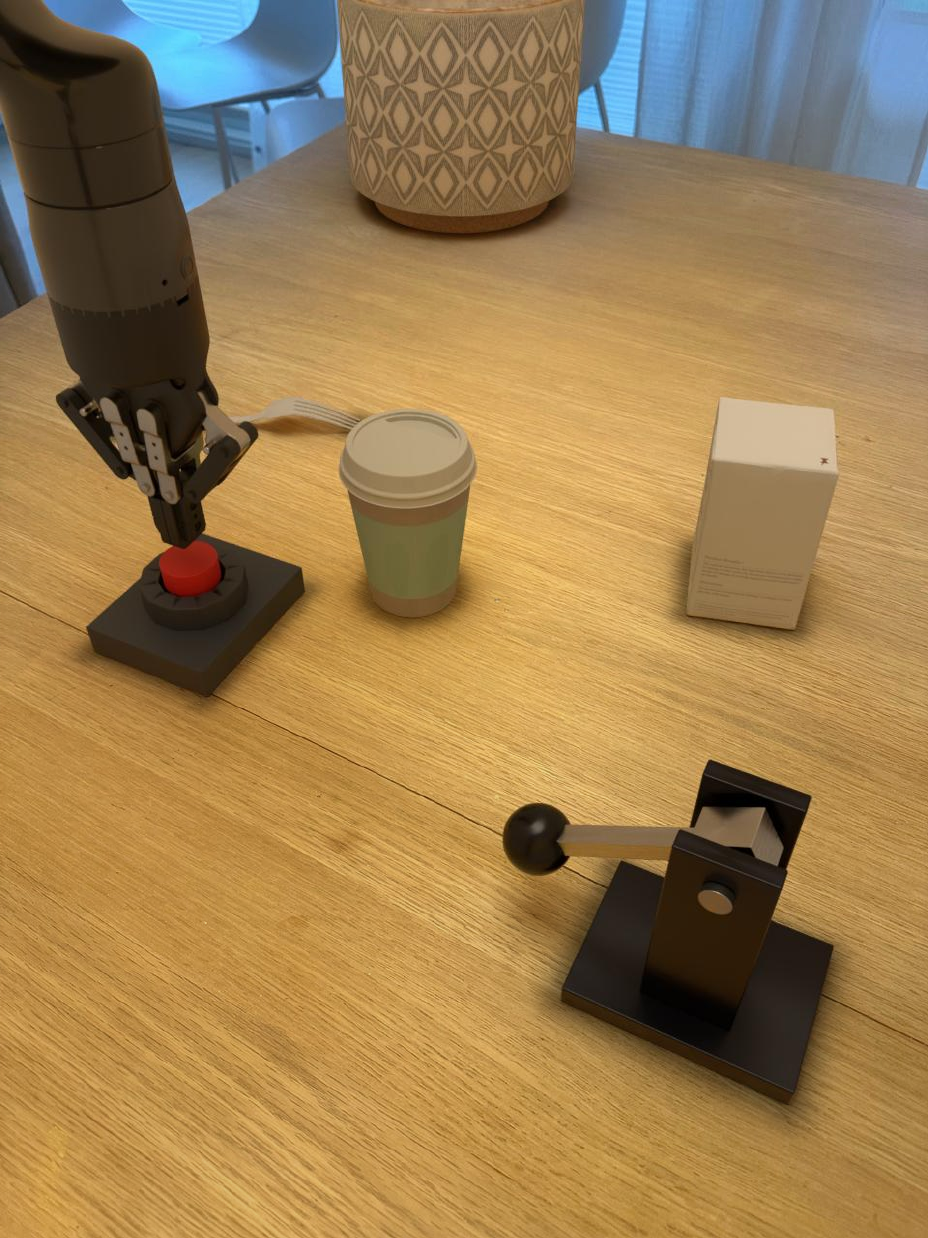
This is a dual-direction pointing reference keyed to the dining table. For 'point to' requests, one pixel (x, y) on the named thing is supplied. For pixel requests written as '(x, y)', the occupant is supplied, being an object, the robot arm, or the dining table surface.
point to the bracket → (709, 948)
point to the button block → (198, 618)
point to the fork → (299, 412)
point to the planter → (461, 107)
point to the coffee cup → (409, 505)
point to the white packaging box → (762, 511)
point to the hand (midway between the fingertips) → (184, 538)
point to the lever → (628, 837)
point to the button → (190, 569)
